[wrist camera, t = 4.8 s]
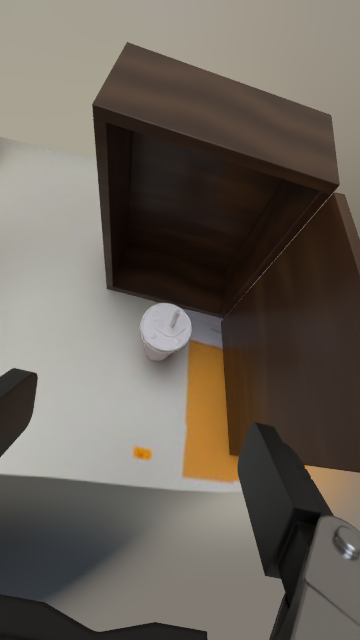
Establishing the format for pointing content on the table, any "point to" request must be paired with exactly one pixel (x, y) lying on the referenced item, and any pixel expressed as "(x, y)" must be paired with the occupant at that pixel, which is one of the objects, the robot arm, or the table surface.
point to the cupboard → (202, 179)
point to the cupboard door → (301, 345)
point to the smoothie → (164, 330)
